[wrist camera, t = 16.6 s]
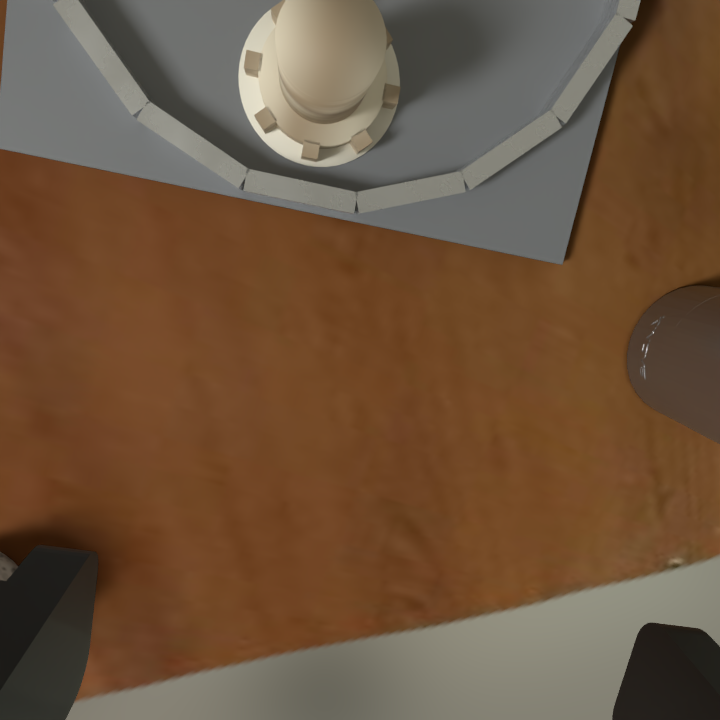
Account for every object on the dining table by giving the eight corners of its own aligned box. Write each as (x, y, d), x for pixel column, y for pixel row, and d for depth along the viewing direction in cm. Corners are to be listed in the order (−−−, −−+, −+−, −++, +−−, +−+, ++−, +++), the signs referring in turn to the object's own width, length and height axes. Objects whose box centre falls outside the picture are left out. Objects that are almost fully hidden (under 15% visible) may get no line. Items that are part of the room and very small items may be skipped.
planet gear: (409, 23, 35) (448, -43, 26) (379, 176, 37) (405, 162, 28) (259, -15, 34) (248, -98, 25) (235, 144, 35) (216, 119, 27)
